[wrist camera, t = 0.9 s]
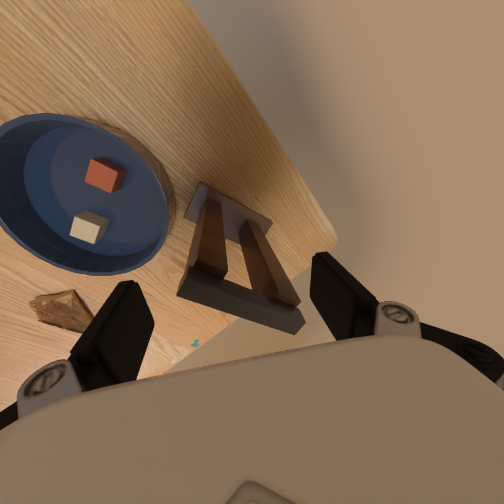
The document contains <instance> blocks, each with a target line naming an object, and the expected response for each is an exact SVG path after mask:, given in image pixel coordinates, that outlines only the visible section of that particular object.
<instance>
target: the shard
mask: <svg viewBox="0 0 504 504" xmlns="http://www.w3.org/2000/svg"><path fill="white" fill-rule="evenodd" d="M28 305H29V306H30V307H31V308H32V309H33V311H34V312H35V313H36V315H37V317H38V318H39V320H38V321H40V322H43V323H46V324H48V325H52V326H57V327H59V328H62V329H66V330H69V331H73V332H77V333H82V334H83V333H84V331H85V330H86V328H87V327H88V325H89V324H90V323H91V321H92V320H93V319H92V318H91V316H90V315H89V314H88V313H87V312H86V310H85V308H84V307H83V305H82V304H81V303H80V302H79V300H78V298H77V296H76V295H75V292H74V290H71V291H68V292H65V293H62V294H59V295H45V296H40V297H39V298H36V299H35V300H33V301H30V302H29V303H28Z"/></svg>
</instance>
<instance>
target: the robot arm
mask: <svg viewBox="0 0 504 504" xmlns="http://www.w3.org/2000/svg"><path fill="white" fill-rule="evenodd" d="M310 298H311V300H312V302H313V304H314V305H315V307H316V309H317V310H318V312H319V313H320V315H321V316H322V318H323V320H324V321H325V323H326V325H327V326H328V328H329V329H330V331H331V333H332V334H333V336H334V338H335V339H336V341H334V342H328V343H323V344H317V345H312V346H306V347H301V348H296V349H291V350H285V351H280V352H275V353H269V354H265V355H260V356H254V357H249V358H244V359H239V360H234V361H229V362H224V363H219V364H213V365H208V366H203V367H198V368H193V369H188V370H184V371H178V372H174V373H169V374H164V375H159V376H154V377H149V378H144V379H139V380H136V379H137V376H138V373H139V370H140V367H141V364H142V361H143V358H144V355H145V352H146V349H147V346H148V343H149V340H150V337H151V335H152V332H153V329H154V319H153V317H152V314H151V312H150V309H149V307H148V305H147V302H146V300H145V298H144V295H143V293H142V290H141V288H140V286H139V284H138V283H137V282H134V281H133V280H129V281H122V282H119V283H118V285H117V286H116V287H115V289H114V290H113V292H112V293H111V294H110V296H109V297H108V299H107V300H106V301H105V303H104V304H103V306H102V307H101V309H100V310H99V311H98V313H97V314H96V316H95V317H94V318H93V320H92V321H91V323H90V324H89V325H88V327H87V328H86V330H85V331H84V333H83V334H82V335H81V337H80V338H79V340H78V341H77V342H76V344H75V345H74V347H73V348H72V350H71V351H70V353H71V355H70V357H69V358H68V359H67V360H65V359H63V360H57V361H54V362H51V363H49V364H47V365H45V366H43V367H41V368H40V369H38V370H37V371H35V372H34V373H33V374H32V375H31V376H29V377H28V378H27V379H26V381H25V382H24V383H23V384H22V385H21V387H20V389H19V390H18V393H17V401H16V402H15V403H13V404H12V405H10V406H9V407H7V408H6V409H4V410H3V411H1V412H0V504H504V359H503V358H502V357H501V356H500V355H499V354H498V353H497V352H496V351H495V350H493V349H492V348H490V347H489V346H487V345H485V344H483V343H481V342H479V341H476V340H473V339H470V338H467V337H464V336H461V335H458V334H455V333H452V332H449V331H445V330H443V329H440V328H437V327H434V326H431V325H427V324H425V323H421V322H419V318H418V315H417V314H416V313H415V312H414V311H413V310H412V309H411V308H409V307H407V306H405V305H404V304H401V303H398V302H393V301H384V302H381V303H379V302H378V301H377V300H376V297H375V296H373V295H372V294H371V293H370V292H369V291H368V290H367V289H366V288H365V287H364V286H363V285H362V284H361V283H360V282H359V281H357V279H356V278H354V277H353V276H352V275H351V274H350V273H349V272H348V271H347V270H346V269H345V268H344V267H343V266H342V265H341V264H340V263H339V262H338V261H337V260H336V259H334V258H333V257H332V256H331V255H330V254H329V253H328V252H319V253H316V254H315V256H313V257H312V269H311V284H310Z"/></svg>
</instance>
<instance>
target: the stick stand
mask: <svg viewBox="0 0 504 504" xmlns="http://www.w3.org/2000/svg"><path fill="white" fill-rule="evenodd" d="M184 218H186V219H188V220H190V221H192V222H194V223H196V227H195V231H194V235H193V239H192V243H191V247H190V251H189V256H188V260H187V264H186V268H185V271H186V269H187V267H188V266H189V265H190V266H193V267H195V268H198V269H200V270H203V271H205V272H208V273H210V274H213V275H215V276H218V277H220V278H223V279H224V277H225V275H226V274H227V272H228V265H227V255H226V246H225V238H227V239H229V240H231V241H233V242H235V243H237V244H240V245H241V248H242V252H243V256H244V259H245V263H246V267H247V271H248V275H249V279H250V282H251V286H252V290H253V291H256V292H258V293H261V294H263V295H266V296H268V297H271V298H273V299H276V300H278V301H281V302H283V303H286V304H288V305H291V306H293V307H297V306H298V305H299V304H300V302H301V301H300V299H299V297H298V295H297V293H296V291H295V289H294V288H293V286H292V284H291V282H290V280H289V279H288V277H287V275H286V273H285V271H284V270H283V268H282V266H281V264H280V262H279V261H278V259H277V257H276V255H275V253H274V252H273V250H272V248H271V246H270V244H269V243H268V241H267V239H266V237H265V234H266V233H267V231H268V230H269V228H270V227H271V225H272V224H273V223H272V221H271V220H269V219H267V218H265V217H264V216H262V215H260V214H258V213H256V212H255V211H253V210H251V209H249V208H248V207H246V206H244V205H242V204H241V203H239V202H237V201H235V200H234V199H232V198H230V197H228V196H227V195H225V194H223V193H221V192H219V191H218V190H216V189H214V188H212V187H211V186H209V185H207V184H205V183H204V182H202V181H200V183H199V186H198V188H197V190H196V192H195V194H194V196H193V198H192V200H191V202H190V204H189V206H188V208H187V210H186V213H185V215H184ZM184 273H185V272H184Z"/></svg>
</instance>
